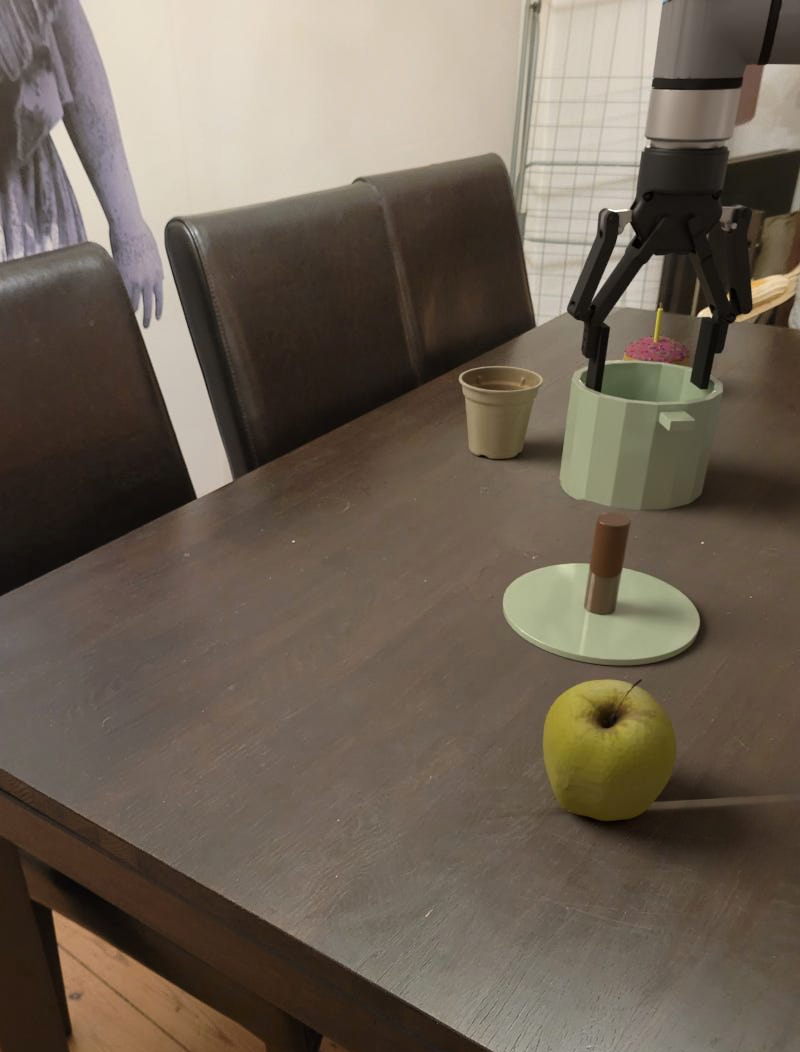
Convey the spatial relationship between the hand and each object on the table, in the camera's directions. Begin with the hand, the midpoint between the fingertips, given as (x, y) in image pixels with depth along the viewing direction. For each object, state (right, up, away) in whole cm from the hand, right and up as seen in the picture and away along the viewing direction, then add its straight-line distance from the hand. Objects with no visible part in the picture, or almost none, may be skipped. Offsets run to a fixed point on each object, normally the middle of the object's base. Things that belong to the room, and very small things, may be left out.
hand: (646, 387), depth 97 cm
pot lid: (-10, -24, -18) cm, 31 cm away
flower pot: (-13, -4, +15) cm, 20 cm away
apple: (-16, -36, -36) cm, 54 cm away
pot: (0, -9, +6) cm, 11 cm away
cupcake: (+12, +8, +34) cm, 37 cm away
